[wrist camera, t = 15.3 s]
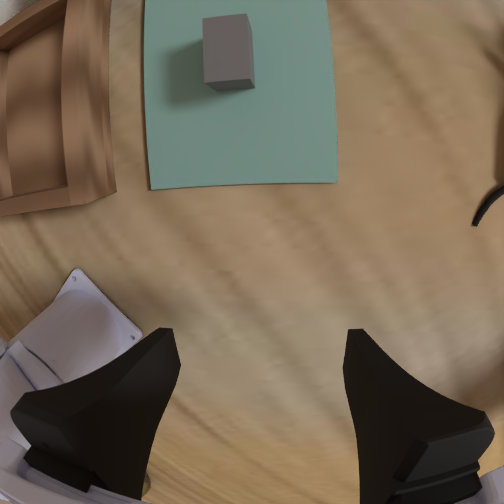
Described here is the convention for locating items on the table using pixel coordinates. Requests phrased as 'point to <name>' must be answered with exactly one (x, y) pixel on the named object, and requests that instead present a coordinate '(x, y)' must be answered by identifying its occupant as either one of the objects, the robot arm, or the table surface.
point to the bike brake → (487, 205)
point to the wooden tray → (55, 106)
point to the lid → (239, 92)
